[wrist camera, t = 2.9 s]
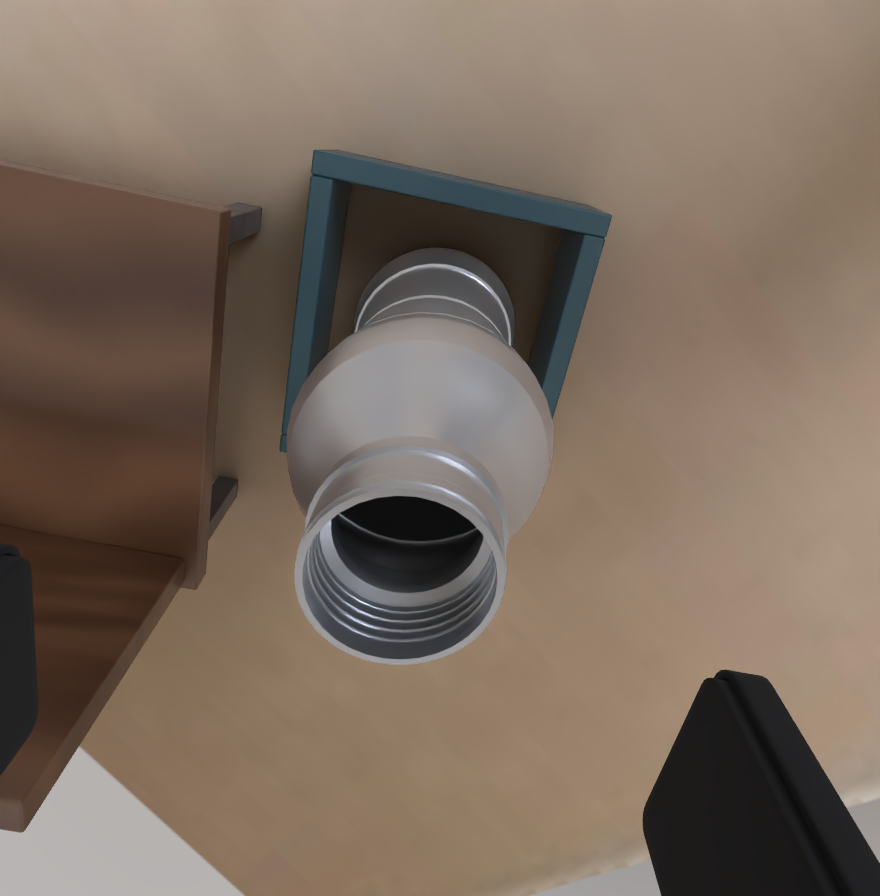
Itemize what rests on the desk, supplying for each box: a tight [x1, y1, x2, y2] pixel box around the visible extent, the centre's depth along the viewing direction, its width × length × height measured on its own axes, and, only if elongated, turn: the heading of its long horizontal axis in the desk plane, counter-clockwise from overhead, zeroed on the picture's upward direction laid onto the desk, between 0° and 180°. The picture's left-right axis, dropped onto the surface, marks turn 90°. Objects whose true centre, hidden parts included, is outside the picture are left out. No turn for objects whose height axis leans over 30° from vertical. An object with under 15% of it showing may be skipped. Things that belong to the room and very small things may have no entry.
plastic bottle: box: [287, 247, 554, 665], centre depth 20 cm, size 6×7×20 cm
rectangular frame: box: [280, 150, 612, 453], centre depth 28 cm, size 12×11×4 cm
